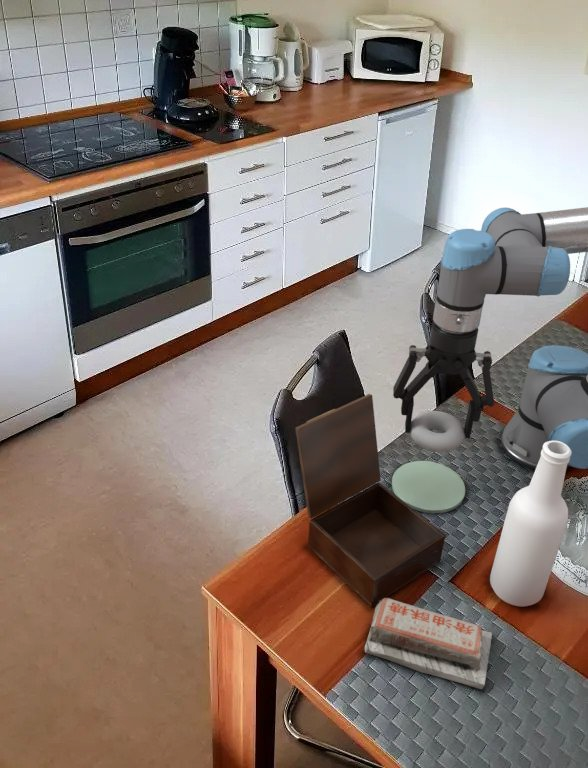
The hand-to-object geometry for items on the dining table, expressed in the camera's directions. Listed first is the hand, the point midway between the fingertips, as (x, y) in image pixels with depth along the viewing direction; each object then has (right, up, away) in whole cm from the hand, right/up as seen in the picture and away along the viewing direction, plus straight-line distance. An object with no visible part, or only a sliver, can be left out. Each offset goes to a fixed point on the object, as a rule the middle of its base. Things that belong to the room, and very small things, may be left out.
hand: (436, 431), depth 133 cm
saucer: (0, -11, +9) cm, 15 cm away
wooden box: (-12, -21, -6) cm, 25 cm away
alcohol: (+11, -25, -11) cm, 30 cm away
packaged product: (-5, -32, -20) cm, 38 cm away
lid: (-18, -4, -8) cm, 20 cm away
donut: (0, -2, +1) cm, 2 cm away
